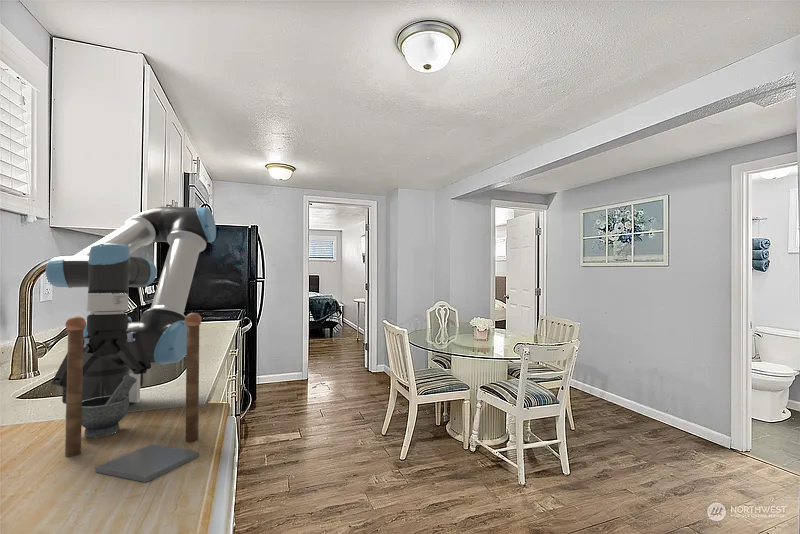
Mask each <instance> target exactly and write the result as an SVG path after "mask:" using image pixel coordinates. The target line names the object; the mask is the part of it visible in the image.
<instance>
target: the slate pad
mask: <svg viewBox="0 0 800 534" xmlns="http://www.w3.org/2000/svg"><path fill="white" fill-rule="evenodd" d="M199 457H200V451H195V450H191V449H183V448H180V447H172V446H167V445H160V444H154V443H151V444H149V445H146V446H144V447H141V448H139V449H136V450H134V451H131V452H129V453H126V454H124V455H122V456H119V457H116V458H114V459H112V460H109V461H107V462H104V463H102V464H99V465H97V466H95V467H94V472H95V473H99V474H103V475H108V476H113V477H116V478H117V477H118V478H124V479H128V480H133V481H137V482H142V483H147V482H149V481H152V480H154V479H155V478H157V477H160V476H162V475H163V474H166V473H168V472H169V471H171V470H174V469H176V468H178V467H180V466H181V465H184V464H186V463H188V462H189V461H192V460H194V459H196V458H199Z"/></svg>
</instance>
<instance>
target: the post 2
mask: <svg viewBox="0 0 800 534" xmlns="http://www.w3.org/2000/svg"><path fill="white" fill-rule="evenodd" d="M185 316H186V318H185V324H186V326H187V348H186V355H185V357H186V359H185V361H186V363H185V364H186V365H185V366H186V367H185V437H184V438H185V442H187V443H191V442H192V441H193V442H196V441H198V440H199V418H200V417H199V413H200V410H199V406H200V405H199V403H200V402H199V399H200V325H201V324H202V316H201V315H200V314H199V313H197V312H191V313H188V314H187V315H185Z"/></svg>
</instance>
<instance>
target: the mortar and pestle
mask: <svg viewBox="0 0 800 534" xmlns="http://www.w3.org/2000/svg"><path fill="white" fill-rule="evenodd" d="M136 381H137V380H136V378H134V377H132V376H129V375H125V376H124V377H123V381H122V382H121V383H120V385H119V386H118V388H117V389H116V390H115V392H114V393H113V394H112V396H104V397H96V398H92V399H88V400H84V401H82V427H83V428H84V435H85V436H86V437H85V436H84V437H85V438H87V437H98V438H103V437H102V436H104V437H108V436H110V435H109V434H111V435H113V434H112V433H114V434H116V433H117V432H118V431H117V430H118V429H119V430H120V424H119V423H120V422H121V421H122V420H123V419H124V418H125V416H126V415H127V413H128V410H129V407H130V404H129V397H127V394H128V393H129V391H130V389H131V387H132V385H133V384H134V383H136ZM116 431H117V432H116ZM115 432H116V433H115ZM107 435H108V436H107Z"/></svg>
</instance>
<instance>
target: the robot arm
mask: <svg viewBox="0 0 800 534" xmlns="http://www.w3.org/2000/svg"><path fill="white" fill-rule="evenodd" d="M216 227H217V226H216V221H215V218H214V215H213V212H212V211H211V210H210V208H208V207H204V206H203V207H202V206H201V207H200V206H195V207H194V206H192V207H188V206H158V207H153V208H149V209H146V210H144V211H142V212H139V213H136V214H134V215H133V216H131V217H129V218H127V219H126V220H125V221H124V222H123V224H122V226H121V227H119V228H117V229H115V230H114V231H113V232H111V233H109V234H108V235H106V236H103V238H101V239H99V240H98V241H95V243H92V244H91V245H89V246H87V247H85V248H84V249H82V250H81V251H79V252H78V253H75V254H74V255H73V256H72V255H70V256H66V255H64V256H63V255H62V256H56V257H53V258H51V259H50V260H49V261H48V263H47V264H46V266H45V276H46V279H47V282H48V283H49V284H50V285H51V286H53V287H56V288H69V289H72V288H87V289H88V290H87V299H86V300H87V302H86V303H87V305H86V306H87V307H86V312H88V313H90V314H88V315H87V316H86V327H85V328H84V332H83V380H82V401H84V400H88V399H92V398H96V397H104V396H112V394H113V393H114V392H115V390H116V389H117V388H118V386H119V385H120V383H121V382H122V381H123V377H124V376H125V375H129V376H132V377H134V378H136V380H137V381H136V383H134V384H133V385H132V387H131V389H130V391H129V393H128V394H127V397H129V405H131V404H134V403H135V404H138V403H141V402H140V401H141V387H143V383H144V380H143V379H144V374H146V373H147V371H148V370H151V368H152V365H159V366H160V365H161V366H163V365H167V364H175V363H178V362H180V361H181V360H183V359H184V357H186V348H187V326H186V324H185V318H186V316H187V315H185V314H184V313H185V309H186V306H187V302H188V298H189V294H190V290H191V287H192V283H193V277H194V274H195V270H196V267H197V262H198V259H199V256H200V253H201V252H203V251H204V250H206V248H207V244H208V243H212V242H213V243H214V242H215V240H216V238H217V228H216ZM152 243H167V244H168V245H169V248H168V251H167V255H166V257H165V261H164V264H163V268H162V269H161V270H162V271H161V274H160V276H159V280H158V284H157V286H156V290H155V293H154V297H153V300H152V303H151V305H150V308H149V309H146V310H145V311H143V312H142V315H141V318H140V320H139V321H133V320H132V318H131V316H129V315H128V314H127V313H125V312H127V311H128V310H129V288H139V289H140V288H143V287H148V286H149V285H151V284H153V282H154V281H155V280H156V278H157V273H158V270H157V266H156V265H155V263H154V262H153V261H151V259H147V258H145V257H143V256H132V255H131V254H133V253H134V252H136V251H137V250H139V248H141V247H145V246H149V245H151V244H152ZM131 371H132V373H131ZM51 386H54V387H61V388H62V395H61V396H62V399H61V402H62V403H63V404H64V405H66V396H67V353H66V355H65V357H64V359H63V360H62V362H61V363H60V366H59V367H58V369H57V371H56V373H55V375H54V377H53V379H52V381H51Z"/></svg>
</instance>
